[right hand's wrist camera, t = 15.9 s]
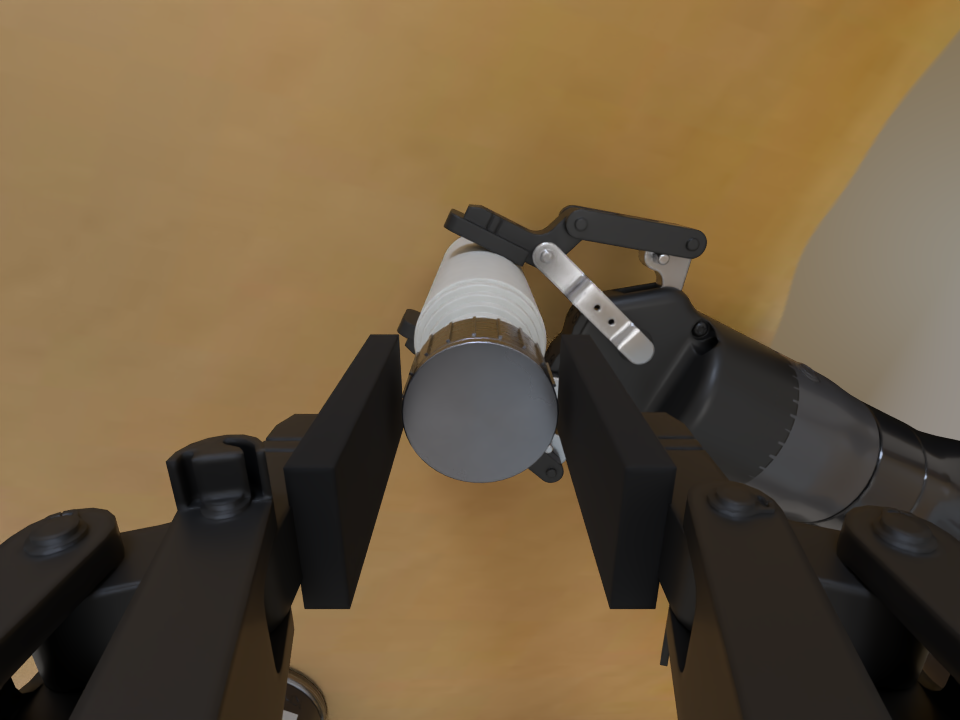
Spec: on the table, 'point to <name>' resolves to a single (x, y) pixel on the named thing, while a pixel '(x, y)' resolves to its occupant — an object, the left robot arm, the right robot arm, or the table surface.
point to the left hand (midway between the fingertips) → (426, 270)
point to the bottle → (479, 294)
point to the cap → (480, 401)
